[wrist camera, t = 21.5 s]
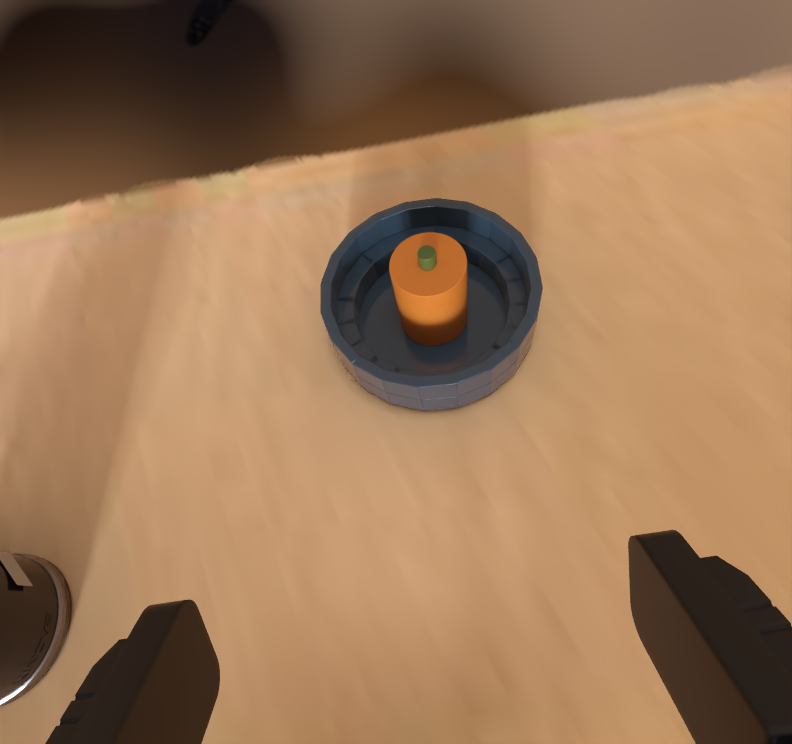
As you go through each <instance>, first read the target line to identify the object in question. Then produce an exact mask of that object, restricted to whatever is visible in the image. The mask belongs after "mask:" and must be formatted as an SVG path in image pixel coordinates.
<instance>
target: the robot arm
mask: <svg viewBox="0 0 792 744" xmlns="http://www.w3.org/2000/svg"><path fill="white" fill-rule="evenodd" d="M628 549H629V577H630V603H631V610H632V615H633V619H634V623H635V626H636V629H637V632H638V634H639V637H640V639H641V641H642V643H643V645H644V647H645V649H646V651H647V653H648V655H649V656H650V658H651V660H652V662H653V664H654V666H655V668H656V670H657V671H658V673H659V675H660V677H661V679H662V681H663V683H664V685H665V686H666V688H667V690H668V692H669V694H670V696H671V698H672V700H673V702H674V703H675V705H676V707H677V709H678V711H679V713H680V715H681V717H682V718H683V720H684V722H685V724H686V726H687V728H688V730H689V732H690V733H691V735H692V737H693V739H694V741H695V743H696V744H792V627H791V623H790V622H789V621H788V620H787V619H786V617H785V616H784V615H783V614H782V613H781V612H780V611H779V610H778V608H777V607H773V606H772V604H771V601H770V599H769V598H768V597H767V596H766V595H765V594H764V593H763V592H762V590H761V589H760V588H759V587H758V586H757V585H756V584H755V583H754V581H753V580H752V579H751V578H750V577H749V576H748V575H747V574H745V573H743V572H742V571H740V570H739V569H737V568H735V567H734V566H732V565H731V564H729V563H727V562H726V561H724V560H723V559H721V558H719V557H718V556H711V557H704V558H699V556H698V555H697V554H696V553H695V551H694V550H693V549H692V548H691V546H690V545H689V544H688V543H687V541H686V540H685V539H684V538H683V536H682V535H681V534H680V533H679V532H677V531H676V530H669V531H662V532H655V533H649V534H642V535H635V536H631V537H630V538H629V543H628ZM69 619H70V597H69V592H68V588H67V585H66V583H65V580H64V578H63V577H62V575H61V573H60V572H59V571H58V569H57V568H56V567H55V566H54V565H52V564H51V563H50V562H48V561H46V560H44V559H42V558H39V557H36V556H30V555H23V554H11V553H7V552H0V706H3V705H5V704H8V703H10V702H12V701H14V700H16V699H18V698H19V697H21V696H22V695H24V694H25V693H26V692H28V691H29V690H30V689H31V688H32V687H34V686H35V685H36V684H37V683H38V682H39V681H40V680H41V678H42V677H43V676H44V675H45V674H46V672H47V671H48V670H49V668H50V667H51V666H52V664H53V663H54V661H55V659H56V657H57V656H58V654H59V652H60V650H61V647H62V645H63V642H64V640H65V637H66V634H67V630H68V626H69ZM219 684H220V669H219V663H218V659H217V656H216V653H215V651H214V648H213V646H212V643H211V640H210V638H209V635H208V633H207V630H206V628H205V625H204V622H203V620H202V617H201V615H200V612H199V610H198V607H197V605H196V604H195V602H194V601H192V600H182V601H175V602H168V603H162V604H155V605H150V606H148V607H147V608H146V609H145V610H144V611H143V612H142V614H141V616H140V617H139V619H138V621H137V623H136V624H135V626H134V628H133V630H132V631H131V633H130V635H129V636H128V638H127V639H121V640H119V641H118V642H117V643H116V644H115V645H114V646H113V647H112V648H111V649H110V650H109V651H108V652H107V653H106V654H105V655H104V656H103V657H102V658H101V659H100V660H99V661H98V662H97V663H96V664H95V665H94V666H93V667H92V669H91V671H90V672H89V674H88V675H87V677H86V679H85V680H84V682H83V684H82V685H81V687H80V688H79V690H78V692H77V693H76V699H75V701H71V703H70V705H69V706H68V708H67V709H66V711H65V713H64V714H63V716H62V718H61V719H60V721H61V722H60V725H59V726H56V727H55V729H54V731H53V732H52V734H51V735H50V737H49V739H48V740H47V742H46V743H45V744H201V743H202V740H203V737H204V734H205V731H206V728H207V725H208V722H209V720H210V717H211V714H212V711H213V708H214V705H215V702H216V699H217V696H218V691H219Z"/></svg>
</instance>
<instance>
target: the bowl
mask: <svg viewBox="0 0 792 744" xmlns="http://www.w3.org/2000/svg"><path fill="white" fill-rule="evenodd" d="M426 232H435V233H441V234H445V235H447V236H449V237H451V238H453V239H455V240H456V241H457V242H458V243H459V244H460V245H461V246H462V248H463V249H464V251H465V253H466V257H467V323H466V326H465V328H464V330H463V331H462V333H461V334H460V335H459V336H458V337H457V338H455V339H454V340H452V341H451V342H449V343H446V344H443V345H439V346H427V345H423V344H420V343H417V342H415V341H414V340H412V339H411V338H410V337H409V336H408V335H407V334H406V333H405V331H404V329H403V327H402V324H401V319H400V315H399V311H398V306H397V302H396V298H395V293H394V289H393V285H392V280H391V276H390V272H389V262H390V258H391V256H392V254H393V252H394V250H395V249H396V248H397V246H398V245H399V244H400V243H402V242H403V241H404V240H406V239H407V238H409V237H411V236H414V235H416V234H420V233H426ZM542 287H543V286H542V281H541V276H540V271H539V266H538V261H537V258H536V256H535V254H534V253H533V251H532V250H531V248H530V246H529V245H528V243H527V242H526V240H525V239H524V237H523V235H522V234H521V233H520V232H519V231H518V230H517V229H515V228H514V227H513V226H512V225H510V224H509V223H508V222H507V221H505V220H504V219H503V218H502V217H500V216H499V215H498V214H496V213H494V212H491V211H489V210H486V209H484V208H481V207H479V206H476V205H474V204H471V203H469V202H464V201H455V200H447V199H438V198H435V199H427V200H420V201H412V202H405V203H402V204H399V205H397V206H394V207H392V208H389V209H386V210H384V211H381V212H379V213H376V214H374V215H373V216H371V217H370V218H369V219H367V220H366V221H364V222H363V223H362V224H360V225H359V226H357V227H356V228H355V229H353V230H352V231H351V232H349V233H348V235H347V236H346V237H345V239H344V240H343V241H342V242H341V244H340V245H339V246H338V247H337V249H336V250H335V251H334V252H333V254H332V255H331V257H330V260H329V263H328V265H327V268H326V271H325V273H324V276H323V279H322V282H321V315H322V318H323V320H324V323H325V326H326V328H327V331H328V334H329V336H330V339H331V341H332V343H333V345H334V347H335V349H336V351H337V353H338V355H339V357H340V359H341V361H342V363H343V365H344V367H345V368H346V369H347V370H348V371H349V372H350V374H351V375H352V376H353V377H354V378H355V379H356V380H357V382H358V383H359V384H360V385H361V386H362V387H363V388H364V389H365V390H367V391H369V392H371V393H372V394H374V395H376V396H378V397H379V398H381V399H383V400H385V401H386V402H388V403H390V404H393V405H398V406H403V407H408V408H413V409H417V410H422V411H423V410H424V411H426V410H437V409H447V408H457V407H461V406H463V405H465V404H468V403H470V402H473V401H475V400H478V399H480V398H483V397H485V396H487V395H489V394H491V393H492V392H493V391H494V390H496V389H497V388H498V387H499V386H500V385H502V384H503V383H504V382H505V381H506V380H508V379H509V378H510V377H511V376H512V375H514V373H515V372H516V371H517V369H518V367H519V366H520V364H521V362H522V361H523V359H524V357H525V356H526V354H527V352H528V351H529V349H530V346H531V343H532V338H533V334H534V330H535V325H536V321H537V316H538V311H539V306H540V300H541V295H542V289H543V288H542Z"/></svg>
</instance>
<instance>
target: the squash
mask: <svg viewBox="0 0 792 744" xmlns="http://www.w3.org/2000/svg"><path fill="white" fill-rule="evenodd" d="M389 272H390V276H391V280H392V285H393V289H394V293H395V298H396V302H397V306H398V311H399V315H400V319H401V324H402V327H403V329H404V331H405V333H406V334H407V335H408V336H409V337H410V338H411V339H412V340H414V341H415V342H417V343H420V344H423V345H427V346H439V345H443V344H446V343H449V342H451V341H452V340H454V339H455V338H457V337H458V336H459V335H460V334H461V333H462V331H463V330H464V328H465V326H466V323H467V257H466V253H465V251H464V249H463V248H462V246H461V245H460V244H459V243H458V242H457V241H456V240H455V239H453V238H451V237H449V236H447V235H445V234H441V233H435V232H426V233H420V234H416V235H414V236H411V237H409V238H407V239H406V240H404V241H403V242H402V243H400V244H399V245H398V246H397V248H396V249H395V250H394V252H393V254H392V256H391V258H390V262H389Z"/></svg>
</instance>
